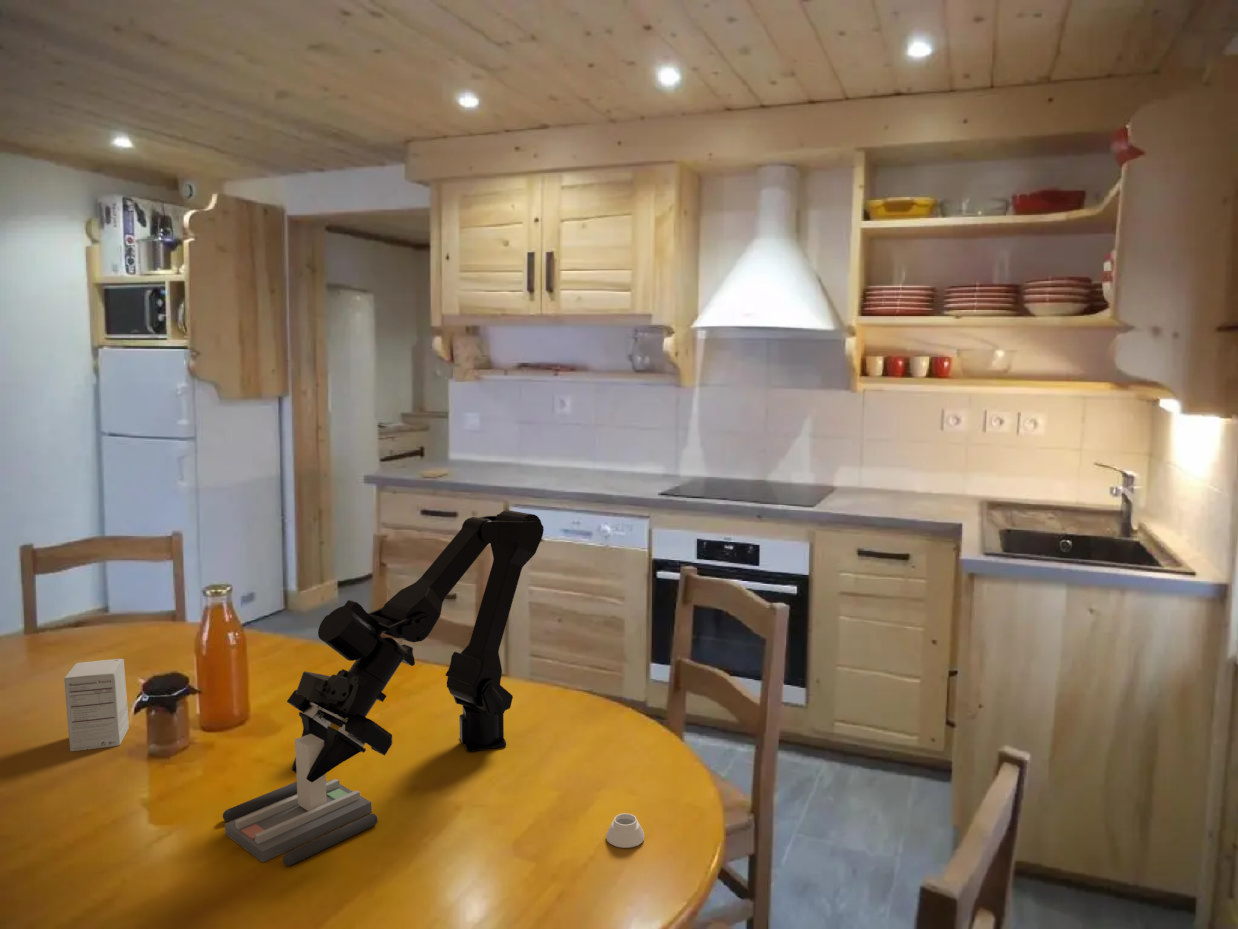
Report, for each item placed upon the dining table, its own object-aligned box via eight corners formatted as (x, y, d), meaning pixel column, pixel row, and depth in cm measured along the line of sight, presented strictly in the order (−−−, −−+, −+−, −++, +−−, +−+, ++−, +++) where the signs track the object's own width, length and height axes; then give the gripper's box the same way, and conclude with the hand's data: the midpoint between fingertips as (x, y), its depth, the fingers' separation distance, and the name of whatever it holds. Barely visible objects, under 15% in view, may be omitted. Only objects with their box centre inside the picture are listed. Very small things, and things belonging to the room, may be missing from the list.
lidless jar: (651, 838, 115) (622, 825, 118) (651, 818, 115) (622, 805, 118) (628, 855, 111) (598, 841, 114) (628, 834, 111) (598, 820, 114)
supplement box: (81, 733, 146) (75, 661, 144) (130, 728, 148) (125, 657, 146) (68, 752, 139) (62, 677, 137) (120, 746, 141) (114, 672, 139)
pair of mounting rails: (311, 784, 129) (310, 773, 129) (380, 825, 118) (380, 814, 118) (220, 821, 119) (220, 810, 118) (287, 870, 107) (286, 858, 107)
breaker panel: (332, 789, 127) (331, 773, 127) (371, 812, 121) (371, 795, 121) (225, 834, 115) (224, 816, 115) (262, 862, 109) (261, 844, 109)
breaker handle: (313, 798, 121) (310, 733, 120) (326, 806, 119) (324, 740, 118) (297, 804, 120) (294, 739, 118) (310, 813, 117) (308, 746, 116)
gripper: (296, 634, 126) (225, 731, 119) (371, 663, 114) (297, 773, 107) (346, 671, 133) (282, 765, 126) (421, 703, 121) (354, 808, 114)
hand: (301, 776), depth 118 cm, fingers closed on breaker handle, 3 cm apart
